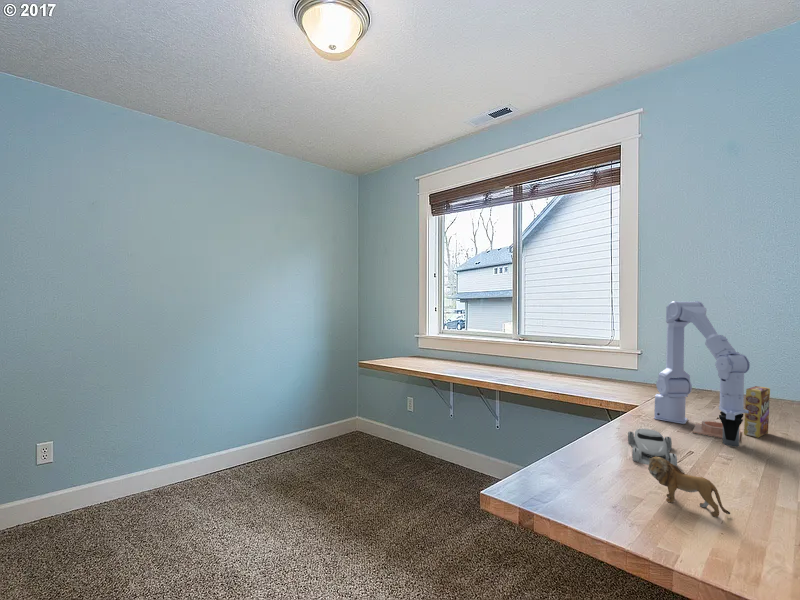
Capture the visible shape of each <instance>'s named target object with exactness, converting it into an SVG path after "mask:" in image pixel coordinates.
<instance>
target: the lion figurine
mask: <svg viewBox="0 0 800 600" xmlns="http://www.w3.org/2000/svg"><path fill="white" fill-rule="evenodd" d="M649 461H650V462H649V465H648V471H649V473H650V475H651V476H652V477H653V478H654V479H655V480H657V481H658V483H659V485H662V486H664V487H667V490H668V493H666V497H667V498H666V499H665V500H666V502H668V503H674V502H675V501H676V498H675V493H676V491H677V490H679V491H683V492H685V493H696V492H698V493H699V495H700V496H701V498H702V499H703V500H704V502H700V503H699V507H702V508H707V507H708V506H710V507H711V508H712V509H713V511H710V515H711V516H712V517H715V518H718V517H719V516H720V509H721V511H722V512H723V513H725V514H727V515H731V512H730V511H729V510H727V509H726V508H724V507H723V504H722V500H721V497H720V494H719V491H718V489H717V487H716V486H715V485H714V483H713V482H712V481H710V480H709V479H707V478H706V477H702V476H696V475H690V474H687V473H685V472H683V471H681V469H680V468H679V467H678V465H677V466H675V465H673V464H671V463H670V462H669V461H667V460H666V459H663V458H661V457H652V458H649ZM712 493H714V495H715V498H716V500H717V503H718V504H717V503H716V502H715V500H714V498H713V494H712ZM719 507H720V509H719Z"/></svg>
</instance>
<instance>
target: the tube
mask: <svg viewBox="0 0 800 600" xmlns="http://www.w3.org/2000/svg"><path fill="white" fill-rule="evenodd" d="M739 430H740V427H739V428H738V431H737V436H736V439H735V441H732V440H727V439H726V437H725V432H724V427H723V438H722V440H721V441H722V445H724V446H729V447H734V448H738V447H740V442H739Z"/></svg>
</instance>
